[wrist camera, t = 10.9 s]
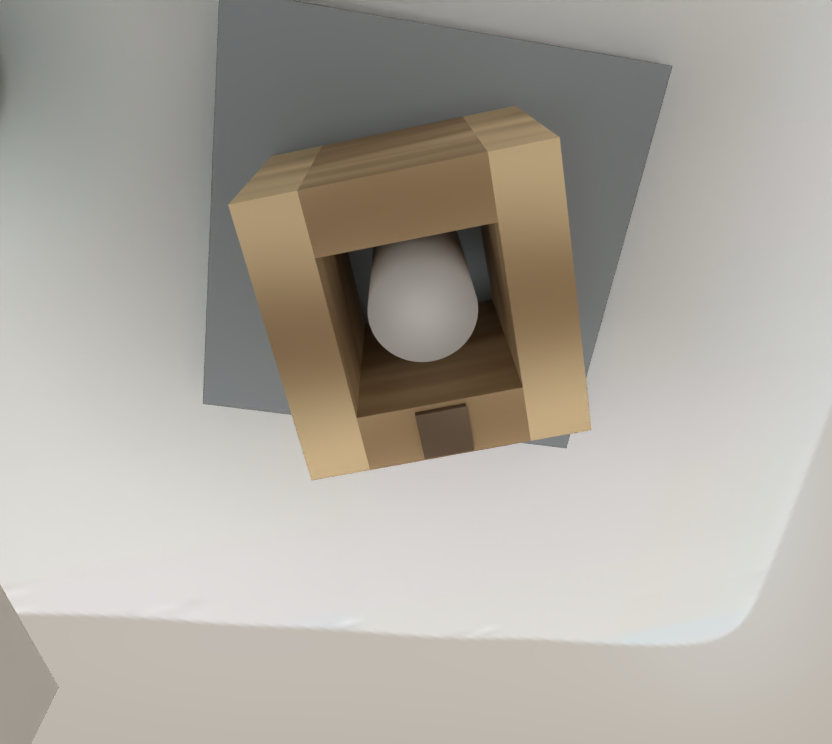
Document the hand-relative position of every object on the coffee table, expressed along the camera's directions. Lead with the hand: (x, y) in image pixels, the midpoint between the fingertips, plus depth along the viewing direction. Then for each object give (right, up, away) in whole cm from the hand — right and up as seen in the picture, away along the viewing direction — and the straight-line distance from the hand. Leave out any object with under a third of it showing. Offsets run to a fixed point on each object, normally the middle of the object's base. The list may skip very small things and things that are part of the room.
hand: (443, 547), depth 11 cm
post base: (0, +7, +16) cm, 18 cm away
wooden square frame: (0, +7, +15) cm, 16 cm away
